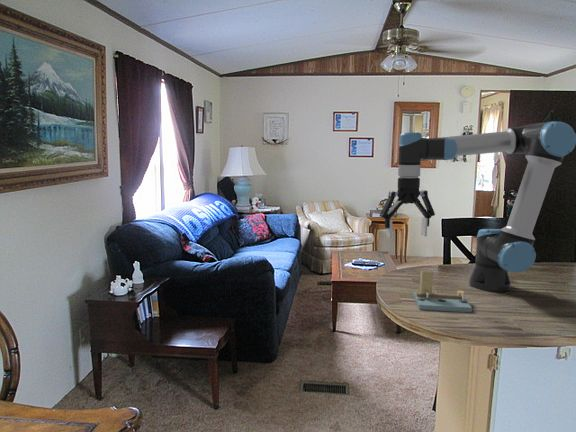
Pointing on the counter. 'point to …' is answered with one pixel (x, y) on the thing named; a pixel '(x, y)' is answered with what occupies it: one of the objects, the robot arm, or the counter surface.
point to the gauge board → (443, 302)
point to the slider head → (426, 282)
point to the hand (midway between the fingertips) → (406, 236)
